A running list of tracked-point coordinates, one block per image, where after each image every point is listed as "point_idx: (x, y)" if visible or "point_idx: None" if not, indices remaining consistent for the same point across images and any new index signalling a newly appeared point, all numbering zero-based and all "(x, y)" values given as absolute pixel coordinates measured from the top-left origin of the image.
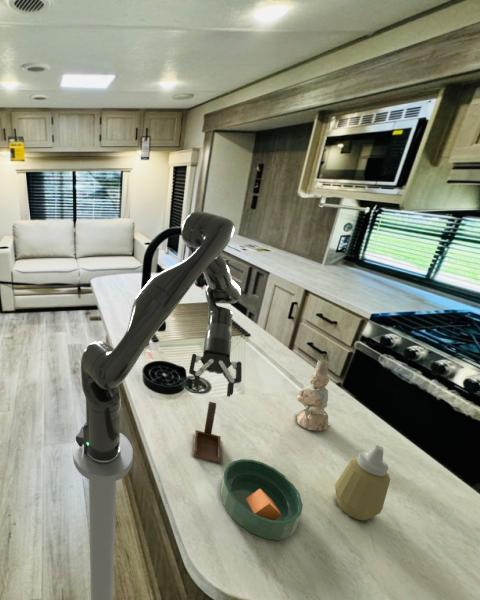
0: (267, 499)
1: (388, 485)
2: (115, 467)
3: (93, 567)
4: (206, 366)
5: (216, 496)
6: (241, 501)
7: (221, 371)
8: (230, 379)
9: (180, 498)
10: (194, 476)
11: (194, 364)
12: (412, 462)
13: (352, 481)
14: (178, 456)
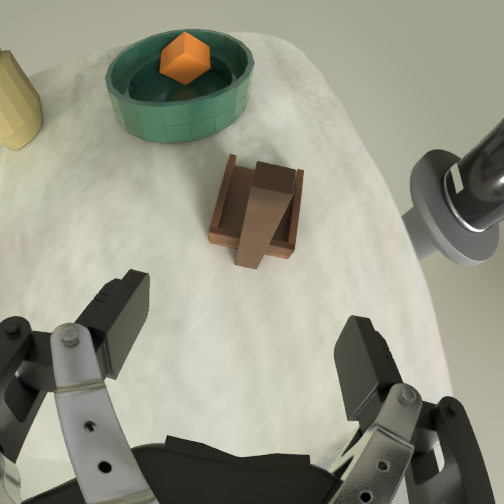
0: (183, 37)
1: None
2: (435, 163)
3: None
4: (366, 478)
5: (256, 102)
6: (210, 93)
7: (153, 449)
8: (80, 350)
9: (323, 100)
10: (297, 134)
11: (460, 464)
12: None
13: (19, 69)
14: (335, 180)
